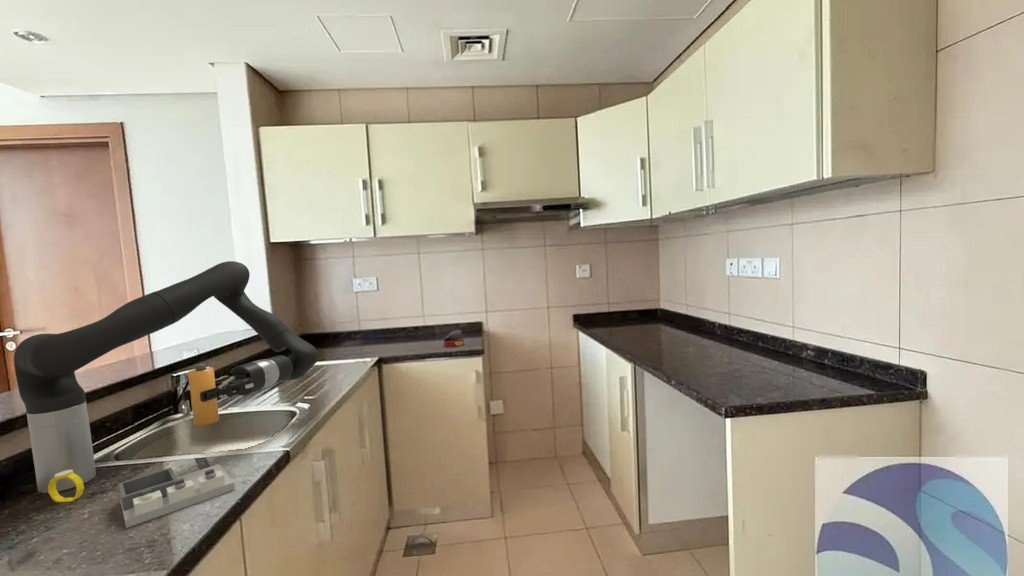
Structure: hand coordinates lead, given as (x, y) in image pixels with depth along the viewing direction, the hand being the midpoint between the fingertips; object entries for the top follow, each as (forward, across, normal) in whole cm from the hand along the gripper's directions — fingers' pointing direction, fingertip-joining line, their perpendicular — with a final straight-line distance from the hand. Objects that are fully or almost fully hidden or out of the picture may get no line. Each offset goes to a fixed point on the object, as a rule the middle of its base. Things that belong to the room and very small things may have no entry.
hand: (192, 396), depth 101 cm
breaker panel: (+10, +6, +17) cm, 20 cm away
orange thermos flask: (-3, 0, +7) cm, 7 cm away
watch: (+15, -17, +17) cm, 29 cm away
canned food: (-134, +4, +16) cm, 135 cm away
